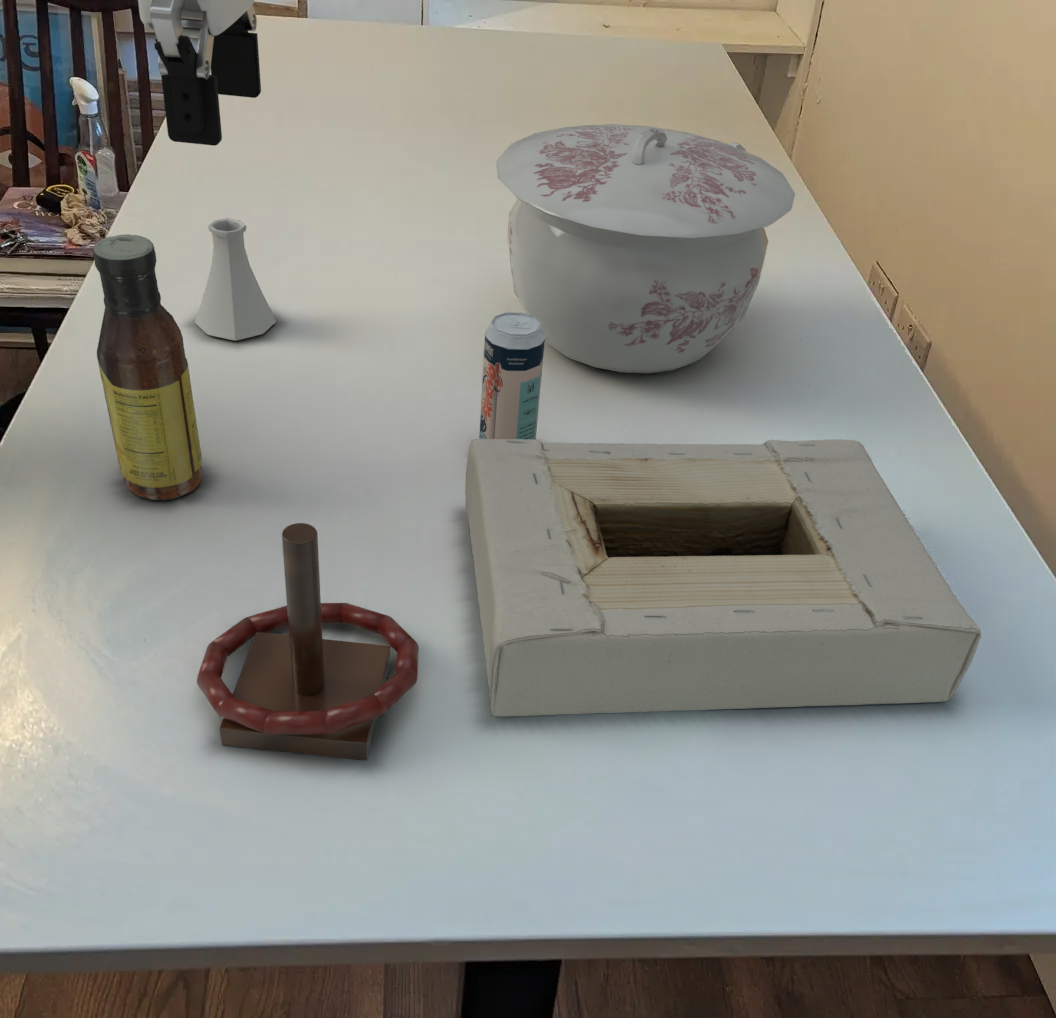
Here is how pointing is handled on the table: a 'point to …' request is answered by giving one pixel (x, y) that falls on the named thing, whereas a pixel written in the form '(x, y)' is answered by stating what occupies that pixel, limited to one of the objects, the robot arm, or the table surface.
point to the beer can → (511, 377)
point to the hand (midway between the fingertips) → (217, 117)
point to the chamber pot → (637, 240)
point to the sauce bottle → (145, 375)
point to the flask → (232, 288)
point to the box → (703, 579)
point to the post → (307, 665)
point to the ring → (308, 720)
